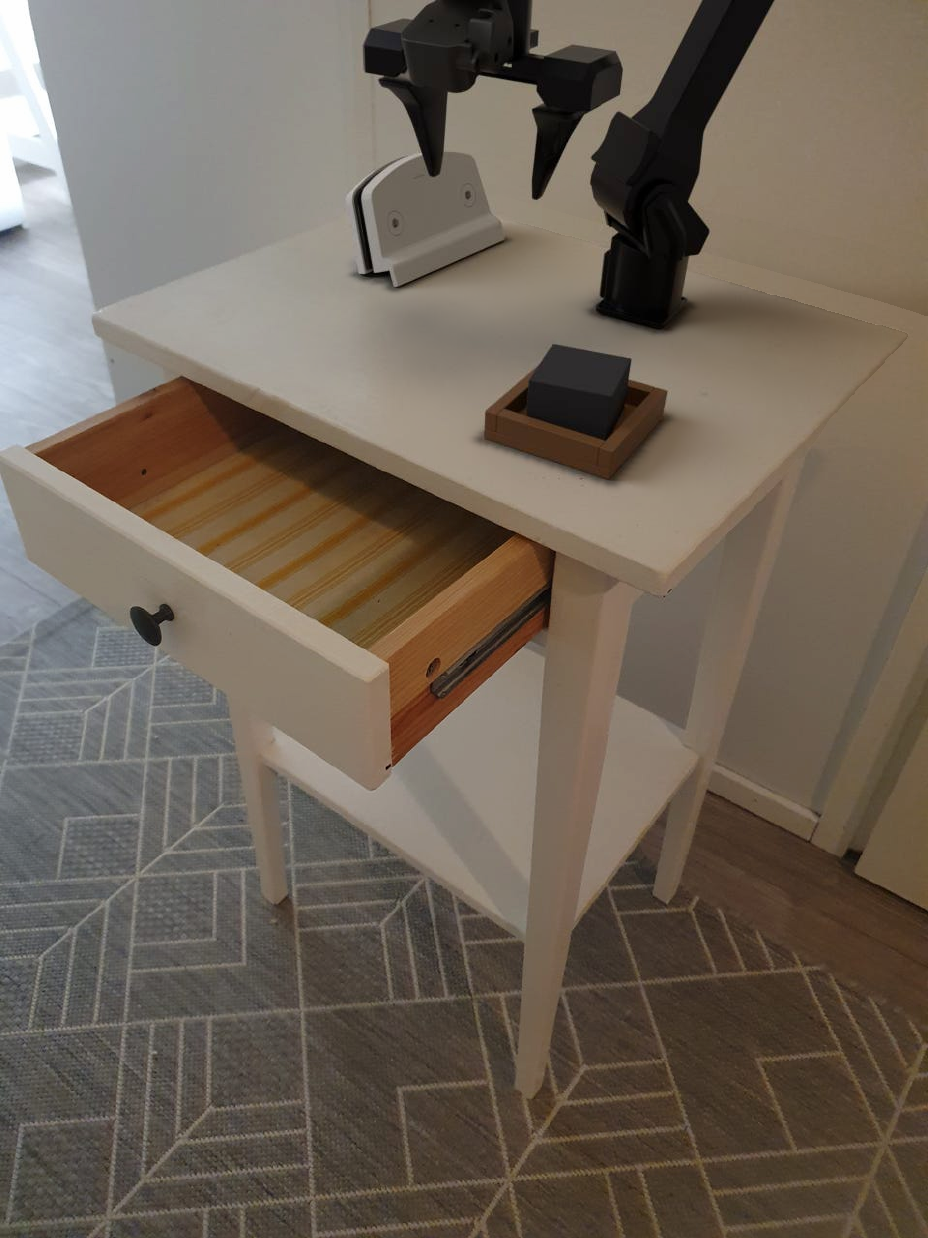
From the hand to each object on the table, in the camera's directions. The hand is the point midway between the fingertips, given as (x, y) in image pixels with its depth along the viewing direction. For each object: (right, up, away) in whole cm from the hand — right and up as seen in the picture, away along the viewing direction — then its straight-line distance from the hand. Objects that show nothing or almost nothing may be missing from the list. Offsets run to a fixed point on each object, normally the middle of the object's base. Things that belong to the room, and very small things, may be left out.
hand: (484, 186), depth 76 cm
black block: (+7, -19, -4) cm, 20 cm away
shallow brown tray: (+7, -20, -4) cm, 21 cm away
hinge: (-6, +2, +21) cm, 22 cm away
